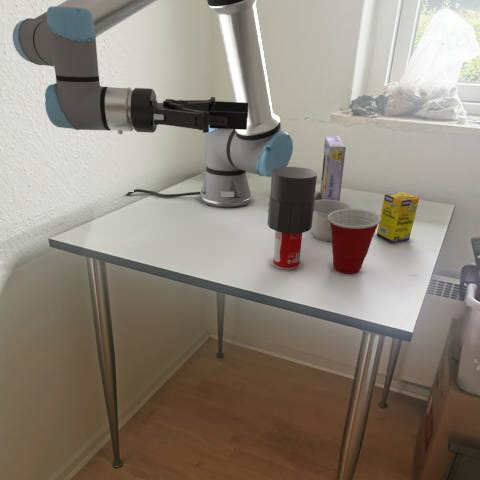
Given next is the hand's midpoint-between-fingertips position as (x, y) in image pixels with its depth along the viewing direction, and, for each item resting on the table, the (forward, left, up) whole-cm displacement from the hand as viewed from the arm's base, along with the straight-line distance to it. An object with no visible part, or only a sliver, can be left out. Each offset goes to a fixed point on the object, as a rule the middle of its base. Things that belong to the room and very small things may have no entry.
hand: (247, 115), depth 88 cm
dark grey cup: (+9, +3, -21) cm, 23 cm away
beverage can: (+9, +3, -30) cm, 32 cm away
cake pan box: (+7, +55, -30) cm, 63 cm away
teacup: (+12, +24, -30) cm, 41 cm away
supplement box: (+29, +31, -30) cm, 52 cm away
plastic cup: (+21, +7, -30) cm, 38 cm away
